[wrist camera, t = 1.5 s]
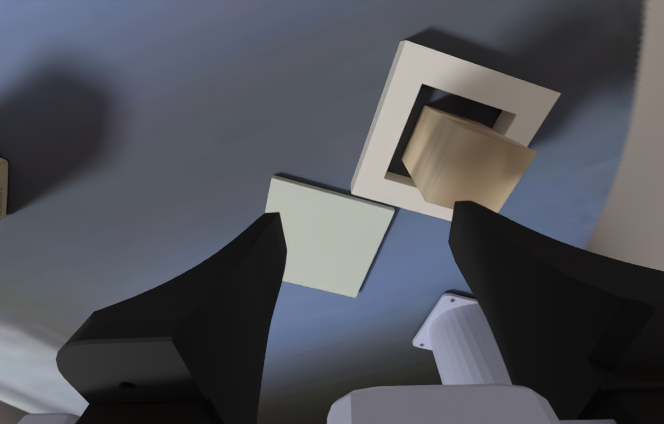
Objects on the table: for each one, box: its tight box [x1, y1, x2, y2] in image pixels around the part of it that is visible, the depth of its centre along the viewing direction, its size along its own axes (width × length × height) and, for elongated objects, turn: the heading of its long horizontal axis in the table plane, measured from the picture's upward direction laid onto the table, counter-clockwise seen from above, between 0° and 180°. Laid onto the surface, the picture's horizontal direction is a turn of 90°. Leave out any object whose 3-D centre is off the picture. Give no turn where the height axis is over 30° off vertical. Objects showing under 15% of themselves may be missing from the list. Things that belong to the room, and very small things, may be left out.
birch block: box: [401, 105, 538, 213], centre depth 18 cm, size 4×4×7 cm
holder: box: [351, 40, 561, 221], centre depth 20 cm, size 10×10×2 cm
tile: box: [265, 175, 395, 298], centre depth 25 cm, size 10×10×1 cm
